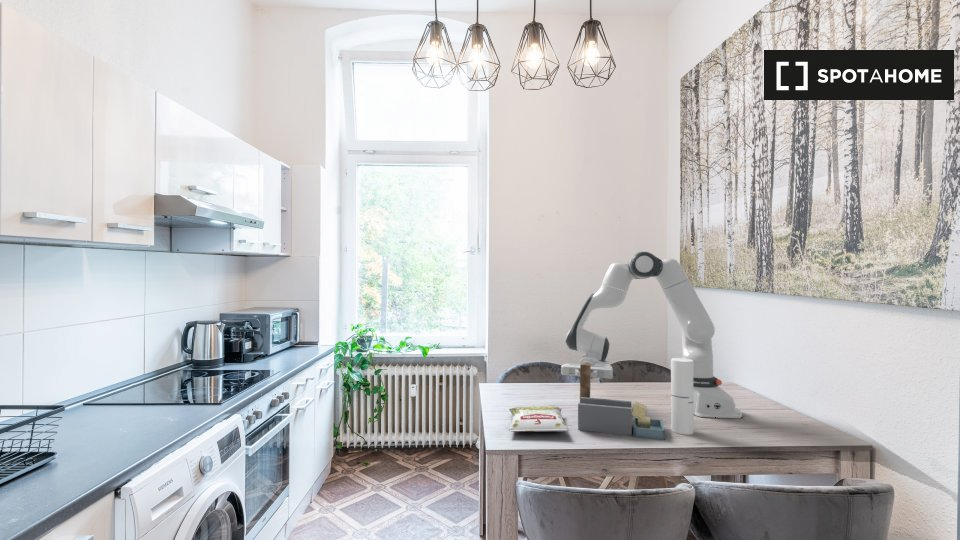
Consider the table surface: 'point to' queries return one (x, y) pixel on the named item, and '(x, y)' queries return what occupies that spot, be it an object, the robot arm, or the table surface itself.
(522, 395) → the table surface
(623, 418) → the channel
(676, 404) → the cylindrical container
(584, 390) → the tall wooden post
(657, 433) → the tray
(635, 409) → the tan cube
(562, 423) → the frozen beans
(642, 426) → the tan wooden cube
